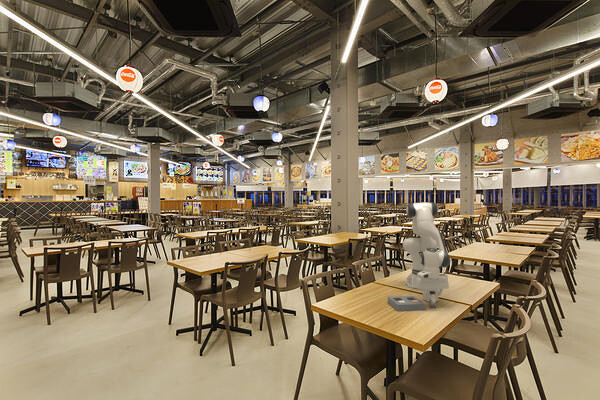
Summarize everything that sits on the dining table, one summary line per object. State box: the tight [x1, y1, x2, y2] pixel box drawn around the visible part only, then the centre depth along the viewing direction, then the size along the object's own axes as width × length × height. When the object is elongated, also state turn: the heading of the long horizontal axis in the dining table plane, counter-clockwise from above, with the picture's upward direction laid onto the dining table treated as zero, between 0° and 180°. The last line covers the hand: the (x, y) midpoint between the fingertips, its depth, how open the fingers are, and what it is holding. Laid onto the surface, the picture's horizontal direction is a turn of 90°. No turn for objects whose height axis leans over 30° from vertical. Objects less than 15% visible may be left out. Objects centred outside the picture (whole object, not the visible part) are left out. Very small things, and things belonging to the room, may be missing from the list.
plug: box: [429, 291, 437, 309], centre depth 185 cm, size 4×4×10 cm
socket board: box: [387, 295, 427, 312], centre depth 187 cm, size 16×18×4 cm
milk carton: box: [422, 289, 440, 303], centre depth 198 cm, size 7×7×19 cm
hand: (432, 295), depth 184 cm, fingers open, 8 cm apart
